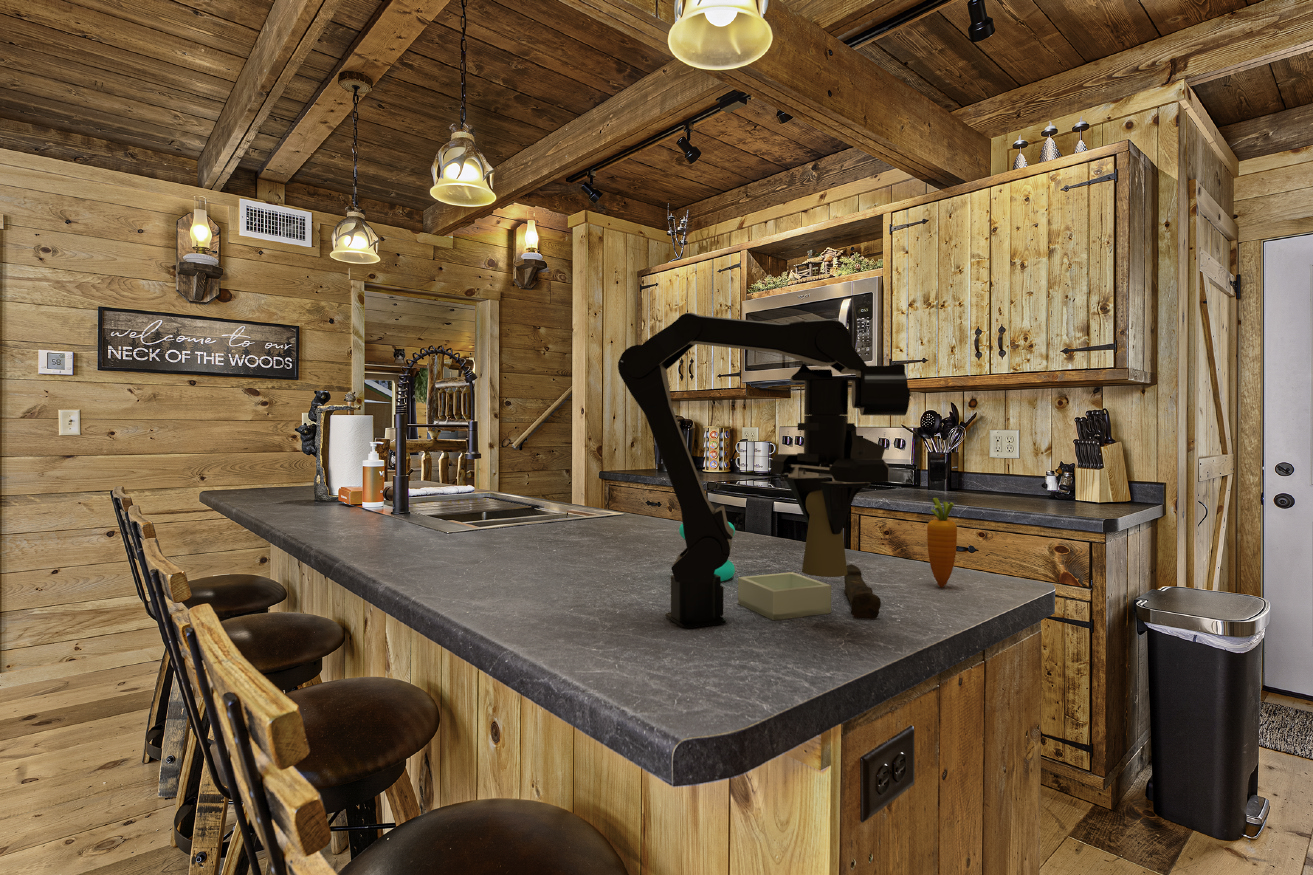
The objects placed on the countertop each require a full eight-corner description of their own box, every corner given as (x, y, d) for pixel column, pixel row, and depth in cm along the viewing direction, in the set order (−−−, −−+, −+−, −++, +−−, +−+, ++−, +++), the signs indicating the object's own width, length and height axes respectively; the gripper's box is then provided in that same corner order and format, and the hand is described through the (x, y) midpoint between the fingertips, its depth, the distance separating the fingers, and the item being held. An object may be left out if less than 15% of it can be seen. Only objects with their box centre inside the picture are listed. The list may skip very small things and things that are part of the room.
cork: (797, 574, 90) (798, 491, 90) (805, 566, 96) (806, 488, 96) (844, 578, 88) (845, 493, 88) (850, 569, 93) (851, 489, 93)
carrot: (962, 590, 112) (963, 500, 112) (932, 590, 112) (933, 499, 112) (950, 584, 117) (950, 496, 117) (921, 583, 117) (921, 496, 117)
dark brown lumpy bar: (880, 622, 95) (881, 588, 95) (851, 620, 96) (851, 587, 96) (866, 590, 114) (866, 562, 114) (841, 589, 114) (841, 561, 114)
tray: (773, 620, 95) (773, 591, 95) (738, 603, 104) (738, 577, 104) (831, 612, 98) (831, 585, 98) (792, 597, 107) (792, 572, 107)
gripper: (923, 415, 86) (922, 538, 86) (832, 417, 103) (831, 519, 103) (851, 414, 82) (850, 543, 82) (769, 416, 99) (768, 523, 99)
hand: (824, 531), depth 92 cm, fingers closed on cork, 5 cm apart
